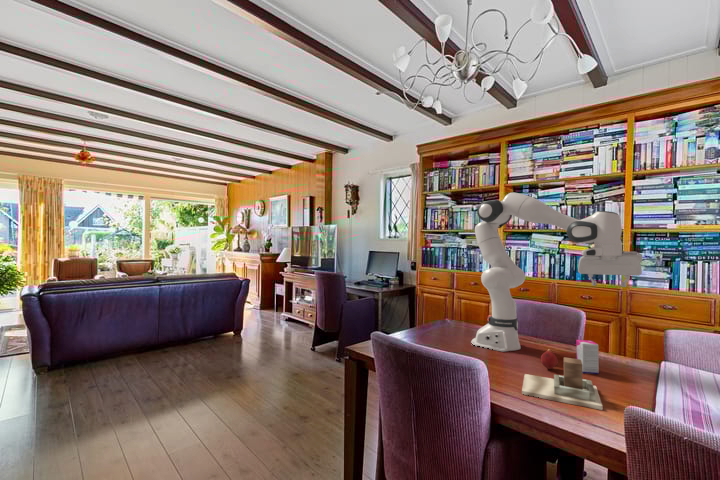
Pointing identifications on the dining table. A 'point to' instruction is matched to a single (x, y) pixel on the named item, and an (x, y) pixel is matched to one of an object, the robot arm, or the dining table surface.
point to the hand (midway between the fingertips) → (608, 286)
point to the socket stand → (562, 391)
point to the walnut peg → (573, 373)
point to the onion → (549, 359)
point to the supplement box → (588, 356)
